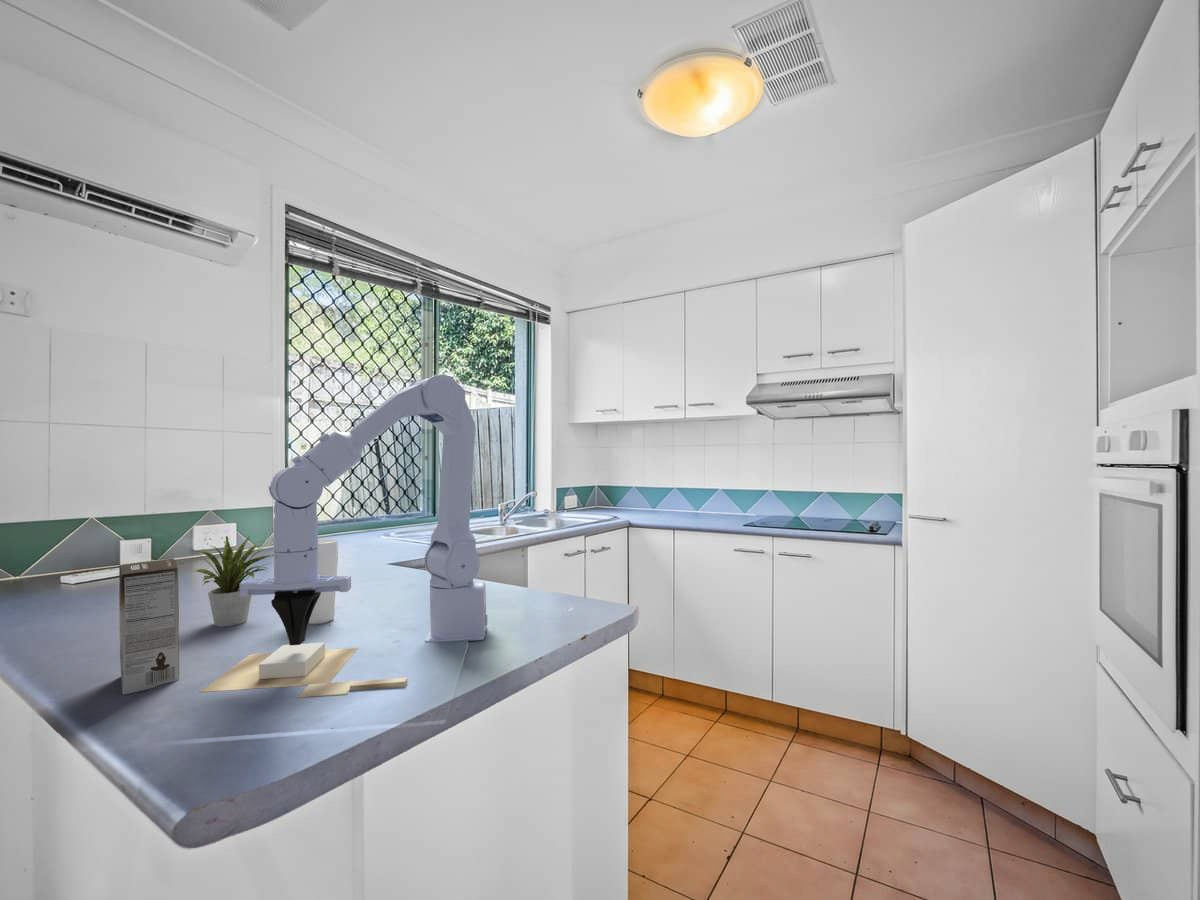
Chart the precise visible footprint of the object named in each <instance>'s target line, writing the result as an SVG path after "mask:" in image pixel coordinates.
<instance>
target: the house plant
mask: <svg viewBox="0 0 1200 900" xmlns="http://www.w3.org/2000/svg"><path fill="white" fill-rule="evenodd" d="M249 539H250V536H248V537H247V538H246V539H245V540H244V541H243V542H242V543H241V545H240V546H239V547H238V548H237V550H236V551H235V553H234V549H232V547H231V543H229V542H230V541H229V537H228V535H226V536H225V543H224V546H223V552H221V550H220V549H219V548H217V547H216V546H213V545H210V547H211V548H214V549H215V550H216V551H217V552H218V554H219V556H220V558H221V563H220V562H219V559H218V558H217V557H216V556H215V555H214V554H212V552H210V551H208V550H206V549H204V548H200V551H198V552H199V553H201V554H204V555H205V556H206V557H208V558H209V560H211V562H212V563H213V564H214V566H215V567H214V566H213V564H212V563H210V562H209V561H208V560H207V559H206V558H204V557H203V556H202V555H200V554H198V553H196V555H197V556H199V557H201V558H202V559H203V560H204V561H205V562H206V563H207V564H209V566H211V567H212V568H213V570H214V572H215V573H216V574H215V573H214V572H213V571H211V570H208V569H205V568H199V569H196V570H194V571H193V573H200V574H205V575H203V579H202V582H204V583H203V584H202V586H204V585H205V584H208V583H210V582H211V580H209V579H214V580H212V582H214V583H216V585H217V586H218V587H216V588H212V589H210V590H209V591H207V594H208V599H209V605H210V609H211V615H212V618H213V619H212V620H213V624H214V626H215V627H223V628H224V627H232V626H237V625H241V624H243V623H246V622H247V621H248V618H249V611H250V606H251V599H252V595H249V596H246V597H240V583H242V581H244V580H245V579H246V578H247V576H248V577H250V576H251V577H252V578H253V579H255V574H254V573H256V572H259V571H261V572H262V571H266V572H267V571H268V570H269V571H270V569H269V568H268V567H266V565H268V563H266V564H263V565H261V566H260V565H257V566H256V565H255V566H251V565H252V564H255V563H257V562H259V561H261V560H264V559H266V558H271V557H274V554H266V555H262V556H258V557H254V556H256V554H258V553H260V552H263V551H265V549H263V548H265V547H266V548H267V547H270V546H271V544H269V545H264V546H261V547H259V548H258V549H256V547H257V546H259V544H261V543H262V542H264V541H263V540H262V541H260V542H257V543H254V544H252V545H251V547H249V549H248V550H246V551H245V553H244V554H243V552H244V550H245V549H246V547H245V546H246V544H247V542H248V541H249ZM272 546H274V543H273V544H272ZM255 549H256V550H255ZM258 550H259V551H258ZM233 553H234V554H233ZM242 554H243V555H242ZM252 554H253V555H252ZM251 555H252V556H251ZM250 556H251V557H250ZM248 557H250V558H249V559H248ZM253 557H254V558H253ZM247 559H248V560H247ZM221 564H222V565H221ZM271 564H272V563H270V565H271ZM250 566H251V567H250ZM248 567H250V568H248ZM247 568H248V569H247ZM253 569H254V570H253ZM251 570H252V571H251ZM269 571H268V572H269Z"/></svg>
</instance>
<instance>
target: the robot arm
mask: <svg viewBox="0 0 1200 900" xmlns="http://www.w3.org/2000/svg"><path fill="white" fill-rule="evenodd" d="M411 416H418V417H420V418H422V419H424V420H426V421H428V422H430V424H432V425H433V426H434V427H435V428H436V430H438V432H439V433H440V434H442V436H443V437H442V450H441V451H442V452H441V466H440V467H441V469H440V480H439V481H440V484H439V496H438V510H437V511H438V512H437V514H438V515H437V524H436V527H435V529H434V531H433V532H432V534H431V536H430V544H429V546H428V548H427V550H426V552H425V553H424V554H425V555H424V557H423V558H424V559H423V562H424V566H425V569H426V571H427V573H429V574H430V575H431V576H430V577H431V578H430V580H429V606H430V609H429V611H430V614H429V615H430V620H429V622H430V626H429V628H430V630H429V632H428V634H427V635H426V637H425V639H424V642H425V643H438V642H439V643H440V642H453V641H455V642H456V641H457V642H458V641H468V642H470V641H471V642H472V641H484V639H485V636H486V631H487V626H488V614H487V590H486V582H483V581H481V582H480V581H479V582H477V581H474V579H475V578H476V577H477V575H478V573H479V570H480V565H481V563H480V558H479V555H478V553H477V548H476V547H477V545H476V544H477V540H476V537H475V536H474V534H473V532H472V530H471V528H470V522H471V521H470V519H471V502H472V487H473V475H474V474H473V472H474V457H475V445H476V444H475V441H476V423H475V420H474V417H473V415H472V412H471V410H470V408H469V405H468V403H467V400H466V390H465V389H464V388H463V387H462V386H461V385H460V383H458V382H457V381H456V380H455V379H454V378H453V377H451V376H450V375H447V374H441V373H440V374H435V375H432V376H431V377H428V378H426V379H418V380H415V381H413V382H411V383H410V384H409V385H408V386H406V387H404V388H402V389H400V390H398V391H396V392H395V393H393V394H392V395H391V396H389V397H388V398H387V399H386V400H385V401H384V402H382V403H381V404H379V405H378V406H377V407H376V408H375V409H373V411H371V412H370V413H369V414H367V416H365V417H364V418H363V419H362V420H360V421H359V422H358V423H357V424H356V425H354V426H353V427H352V428H351V429H349V430H348V431H345V432H343V431H333V432H331V433H330V434H329V433H323V434H322V435H321V436H320V437H318V441H319V443H317V444H316V445H315V446H313V447H312V448H311V449H309V450H308V451H307V452H305V453H304V454H303V455H302V456H299V455H296V456H295V457H293V458H292V459H291V463H293V465H294V466H290V467H289V466H288V467H284V468H282V469H281V470H279V471H277V473H275V474H274V475H273V477H272V479H271V480H270V481H271V482H270V485H269V486H268V492H269V494H270V496H271V498H272V499H273V500H274V502H273V503H274V506H273V514H274V518H273V522H272V524H273V529H272V530H273V531H272V532H273V537H272V538H273V544H274V545H273V555H274V556H273V577H271V578H263V579H262V578H261V579H251V580H250V579H245V580H243V582H241V583H240V597H246V596H249V595H251V596H259V595H260V596H261V595H262V596H263V595H273V599H271V606H272V608H273V609H274V611H275V612H276V613H277V615H278V616H279V619H280V620H281V622H282V625H283V627H284V629H285V633H286V635H287V639H288V643H289V644H288V645H300V644H304V642H305V641H306V636H307V635H306V634H307V629H308V626H309V624H308V623H309V619H310V617H311V614H312V611H313V609H314V607H315V605H316V602H317V600H318V598H319V597H320V594H321V592H332V591H336V592H340V593H348V592H349V591H351V589H352V576H351V575H345V576H344V575H343V576H342V575H337V576H320V575H319V573H318V539H319V527H318V526H319V525H318V523H319V522H318V521H319V520H318V519H319V518H318V515H317V514H318V513H317V511H318V510H317V509H318V507H317V505H318V504H317V502H318V501H319V500H320V498H321V497H322V494H323V490H324V488H327V487H330V485H331V484H333V483H334V482H335V481H336V480H338V479H340V477H341V476H343V475H344V474H346V473H347V472H348V471H349V470H351V468H353V467H354V466H355V465H357V463H359V462H360V461H361V459H362V455H363V448H364V447H365V446H367V445H368V444H369V443H371V442H372V441H373V440H374V439H376V438H377V437H379V436H380V435H382V434H384V432H385V431H387V430H388V429H389V428H392V426H394V425H395V424H396V423H398V422H399V421H400V420H402V419H403V418H407V417H411Z"/></svg>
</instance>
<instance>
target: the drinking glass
mask: <svg viewBox="0 0 1200 900" xmlns="http://www.w3.org/2000/svg"><path fill="white" fill-rule="evenodd" d="M338 562H339V545H338V540H337V539H336V538H335V539H334V538H318V573H319V575H320V576H338V565H339V563H338ZM336 592H337V591H332V592H321V594H320V597H319V598H318V600H317V602H316V605H315V607H314V609H313V611H312V614H311V617H310V619H309V623H308V625H309V626H310V625H312V626H314V625H321V624H326V623H329V622H331V621H332V620H334V618H335V615H336V614H335V610H336V609H335V605H336V603H335V602H336Z"/></svg>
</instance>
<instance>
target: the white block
mask: <svg viewBox="0 0 1200 900" xmlns="http://www.w3.org/2000/svg"><path fill="white" fill-rule="evenodd" d="M325 650H326V642H310V643H308V642H307V643H301V644H300V645H290V644H282V645H281V646H280V647H279V648H277V649H276V650H275V651H274V652H272V653H273V654H271V655H270V656H269V657H268V658H266V659H265V660H264V661H263V662H261V663H260V664H259V679H268V678H284V677H300V676H306V675H307V674H308V673H309V672H310V671H311V670H312V669H313V668H314V667H315V666H316V665H317V664H318V663H319V662H320V661H321V659H322V658H323V657H324V656H325Z"/></svg>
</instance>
